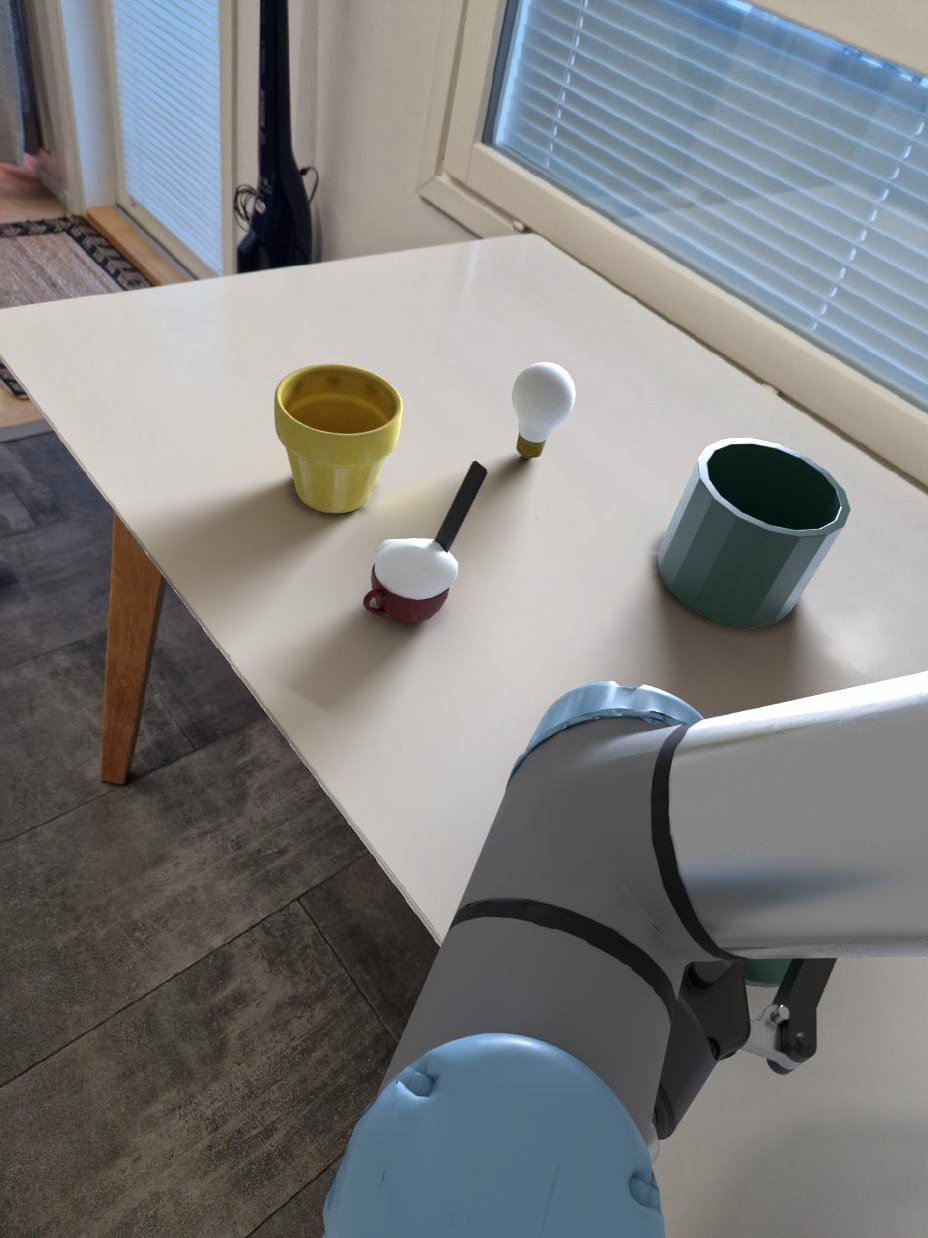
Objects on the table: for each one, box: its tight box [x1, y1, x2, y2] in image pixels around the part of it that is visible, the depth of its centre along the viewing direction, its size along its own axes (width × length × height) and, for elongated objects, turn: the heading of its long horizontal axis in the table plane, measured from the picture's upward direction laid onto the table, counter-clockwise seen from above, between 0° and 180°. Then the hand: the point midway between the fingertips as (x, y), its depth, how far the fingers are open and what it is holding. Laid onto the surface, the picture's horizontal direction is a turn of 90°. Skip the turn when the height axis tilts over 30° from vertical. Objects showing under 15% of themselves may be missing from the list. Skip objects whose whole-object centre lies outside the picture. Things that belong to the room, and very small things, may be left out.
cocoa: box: [362, 460, 488, 624], centre depth 65 cm, size 10×6×12 cm, turn 109°
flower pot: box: [273, 363, 404, 514], centre depth 74 cm, size 10×10×10 cm
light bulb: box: [511, 361, 576, 460], centre depth 82 cm, size 6×6×10 cm
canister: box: [656, 437, 851, 629], centre depth 74 cm, size 13×13×10 cm
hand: (824, 753), depth 49 cm, fingers closed on lid, 3 cm apart
